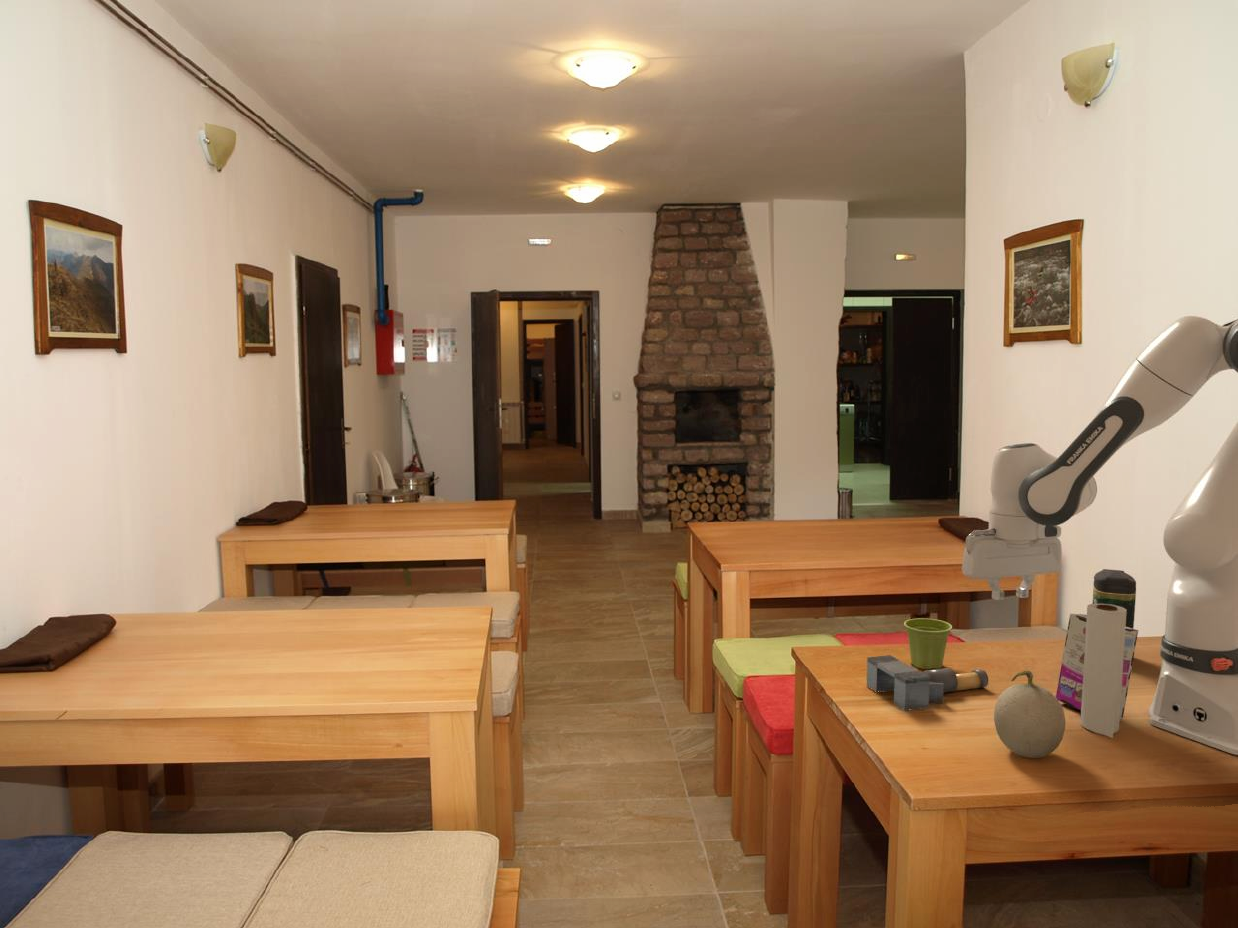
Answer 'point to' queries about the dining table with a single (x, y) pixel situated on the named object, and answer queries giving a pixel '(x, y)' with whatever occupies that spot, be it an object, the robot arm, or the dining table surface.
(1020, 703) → the fruit
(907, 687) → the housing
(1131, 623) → the coffee jar
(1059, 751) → the dining table surface
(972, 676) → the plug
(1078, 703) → the candy bar box
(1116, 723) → the paper towel roll
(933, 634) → the plant pot
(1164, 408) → the robot arm
